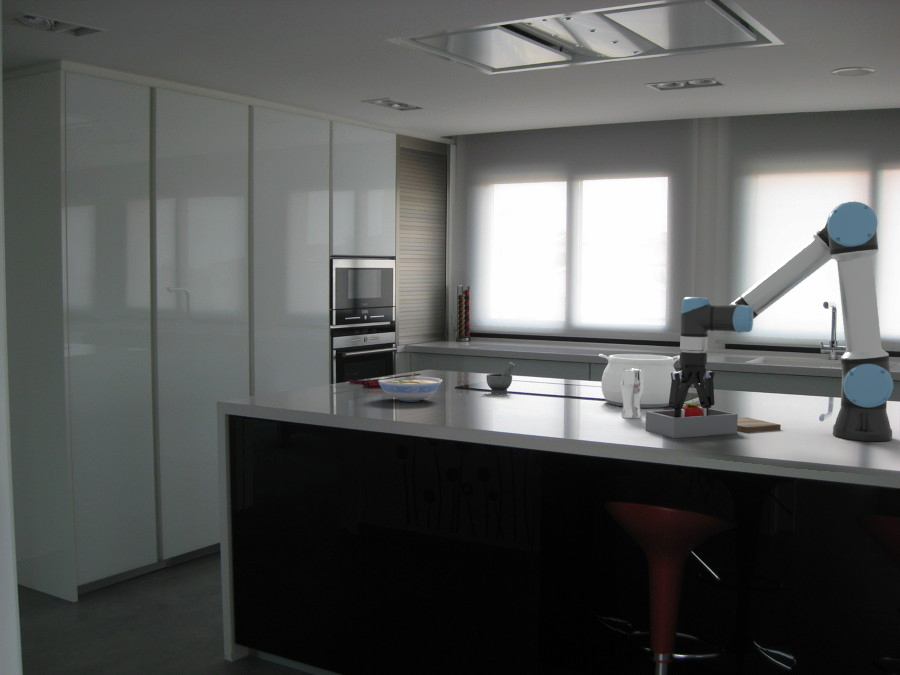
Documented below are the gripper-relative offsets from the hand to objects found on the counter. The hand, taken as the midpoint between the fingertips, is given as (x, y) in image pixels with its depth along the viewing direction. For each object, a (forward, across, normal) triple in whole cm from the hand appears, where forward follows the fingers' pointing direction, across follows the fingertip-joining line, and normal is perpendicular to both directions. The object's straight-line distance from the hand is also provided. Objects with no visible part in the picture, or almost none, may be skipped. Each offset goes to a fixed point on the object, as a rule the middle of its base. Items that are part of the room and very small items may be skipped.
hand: (690, 430), depth 254 cm
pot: (+1, -19, -52) cm, 55 cm away
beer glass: (+1, +1, -28) cm, 28 cm away
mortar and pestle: (+1, +15, -92) cm, 93 cm away
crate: (0, 0, 0) cm, 0 cm away
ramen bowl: (+1, +54, -85) cm, 101 cm away
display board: (0, -21, -1) cm, 21 cm away
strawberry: (0, 0, 0) cm, 0 cm away
